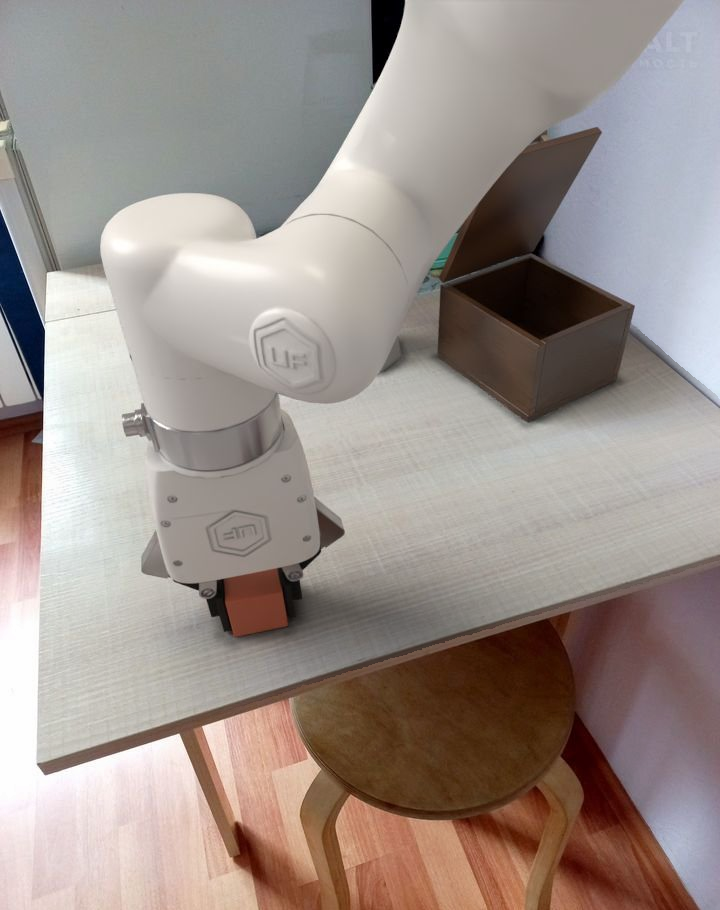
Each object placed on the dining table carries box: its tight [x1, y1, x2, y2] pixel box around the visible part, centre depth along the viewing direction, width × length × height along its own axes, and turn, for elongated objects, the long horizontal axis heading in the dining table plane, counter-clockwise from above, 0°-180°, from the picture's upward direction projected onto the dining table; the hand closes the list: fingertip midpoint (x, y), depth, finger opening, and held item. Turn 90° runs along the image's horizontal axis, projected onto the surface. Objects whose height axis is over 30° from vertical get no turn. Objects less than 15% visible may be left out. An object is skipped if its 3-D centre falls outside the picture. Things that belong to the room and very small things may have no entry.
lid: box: [438, 126, 603, 284], centre depth 69 cm, size 15×13×5 cm
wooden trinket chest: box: [436, 252, 636, 423], centre depth 74 cm, size 15×13×9 cm
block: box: [224, 568, 289, 638], centre depth 52 cm, size 4×4×4 cm
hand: (257, 607), depth 53 cm, fingers closed on block, 4 cm apart
